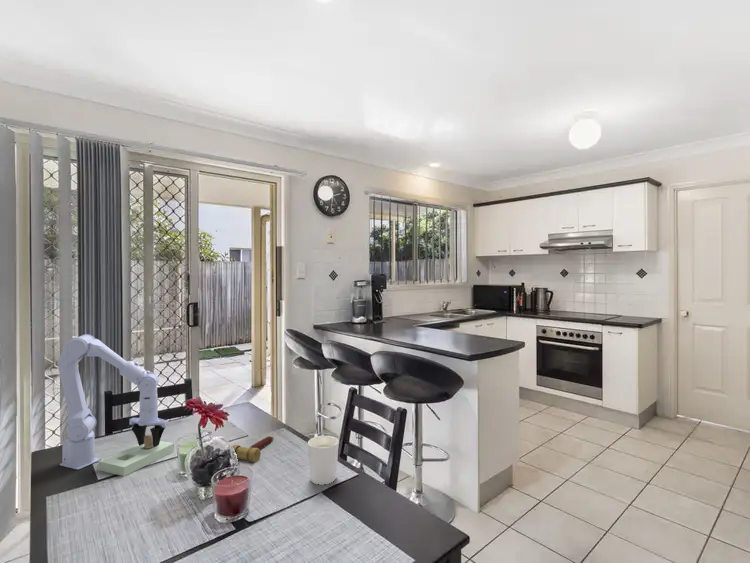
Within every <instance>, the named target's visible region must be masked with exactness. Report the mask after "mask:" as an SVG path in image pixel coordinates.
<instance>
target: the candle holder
mask: <svg viewBox="0 0 750 563" xmlns="http://www.w3.org/2000/svg"><path fill="white" fill-rule="evenodd" d="M339 444H340V442H339V439H338V438H337V437H335V436H332V435H318V436H315V437H312V438H310V439H309V440H308V441H307V448H308V462H309V464H308V466H309V478H310V482H311V483H313V484H315V485H318V484H319V485H320V486H324V484H326V485H330V484H332V483H334V482H335V481H336V480H337V475H338V474H337V473H338V460H339V459H338V457H339V456H338V455H339ZM335 479H336V480H335ZM334 480H335V481H334ZM333 481H334V482H333ZM331 482H332V483H331ZM329 483H330V484H329ZM319 485H318V486H319Z"/></svg>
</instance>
